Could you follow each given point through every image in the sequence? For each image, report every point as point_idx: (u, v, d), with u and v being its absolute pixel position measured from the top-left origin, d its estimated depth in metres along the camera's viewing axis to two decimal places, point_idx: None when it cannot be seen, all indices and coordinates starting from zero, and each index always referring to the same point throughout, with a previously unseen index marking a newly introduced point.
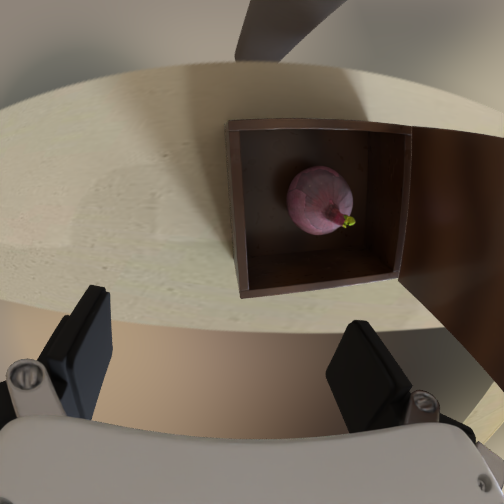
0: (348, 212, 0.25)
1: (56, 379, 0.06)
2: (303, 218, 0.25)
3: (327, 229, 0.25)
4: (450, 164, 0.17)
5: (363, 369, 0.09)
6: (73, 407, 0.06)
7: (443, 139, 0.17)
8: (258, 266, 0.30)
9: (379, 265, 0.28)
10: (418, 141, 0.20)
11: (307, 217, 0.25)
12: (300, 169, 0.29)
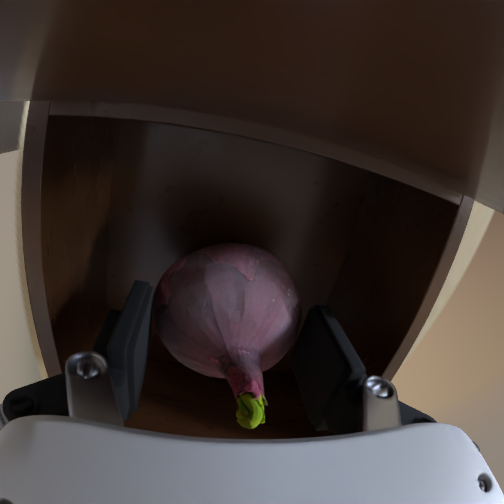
0: (260, 298, 0.10)
1: (114, 369, 0.07)
2: None
3: (285, 347, 0.11)
4: None
5: (320, 353, 0.10)
6: (127, 396, 0.07)
7: None
8: None
9: (426, 207, 0.10)
10: (35, 97, 0.04)
11: None
12: None
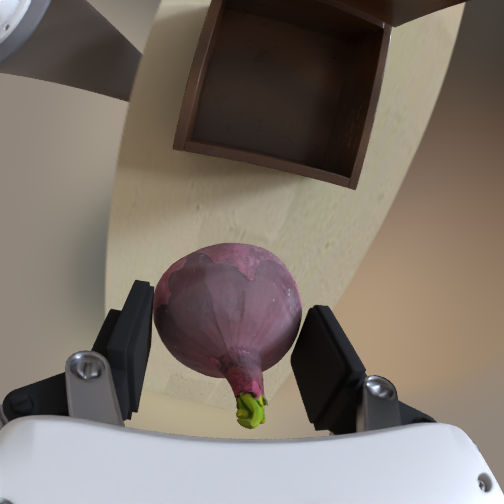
0: (261, 298, 0.10)
1: (114, 369, 0.07)
2: None
3: (285, 346, 0.11)
4: None
5: (320, 353, 0.10)
6: (127, 396, 0.07)
7: None
8: (334, 156, 0.26)
9: (373, 38, 0.19)
10: None
11: None
12: (250, 83, 0.25)
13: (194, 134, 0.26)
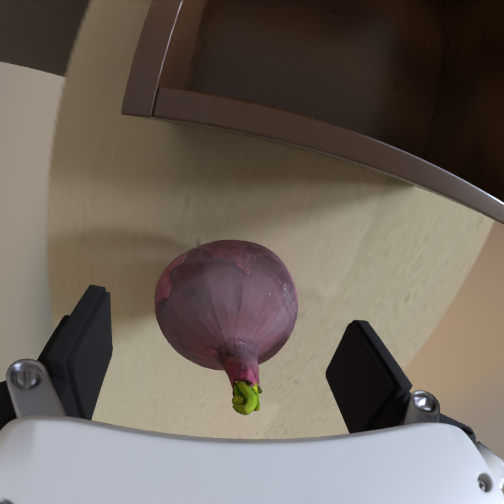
0: (257, 292, 0.11)
1: (56, 379, 0.06)
2: None
3: (281, 339, 0.12)
4: None
5: (363, 369, 0.09)
6: (73, 407, 0.06)
7: None
8: (454, 156, 0.12)
9: None
10: None
11: None
12: (300, 11, 0.11)
13: None
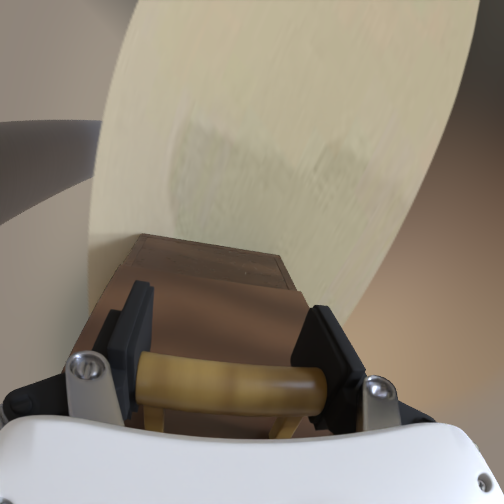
0: None
1: (114, 369, 0.07)
2: None
3: None
4: None
5: (320, 353, 0.10)
6: (127, 396, 0.07)
7: None
8: None
9: None
10: None
11: None
12: None
13: None
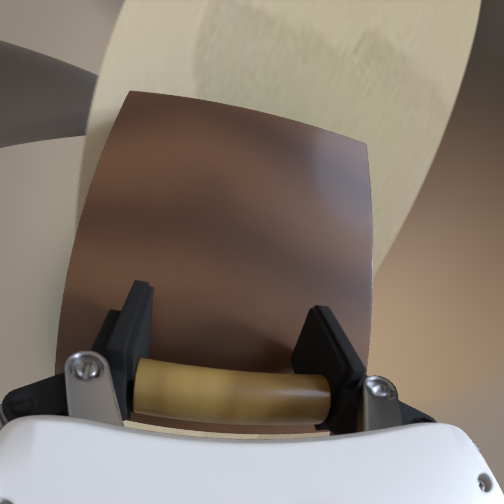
0: None
1: (113, 369, 0.07)
2: None
3: None
4: None
5: (320, 353, 0.10)
6: (126, 396, 0.07)
7: None
8: None
9: None
10: None
11: None
12: None
13: None
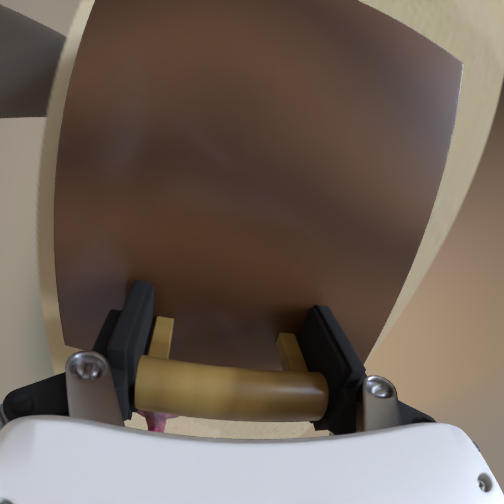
0: None
1: (114, 369, 0.07)
2: None
3: None
4: None
5: (319, 352, 0.10)
6: (127, 396, 0.07)
7: None
8: None
9: None
10: None
11: None
12: None
13: None
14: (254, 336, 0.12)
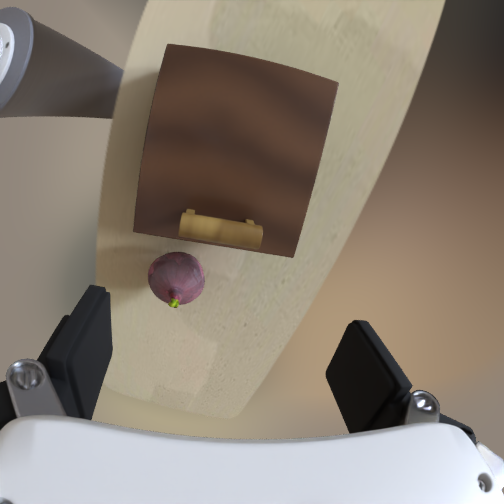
0: (182, 271, 0.30)
1: (56, 379, 0.06)
2: (181, 303, 0.31)
3: (194, 290, 0.31)
4: None
5: (363, 369, 0.09)
6: (73, 407, 0.06)
7: None
8: None
9: None
10: None
11: (180, 302, 0.31)
12: None
13: None
14: (233, 220, 0.25)
